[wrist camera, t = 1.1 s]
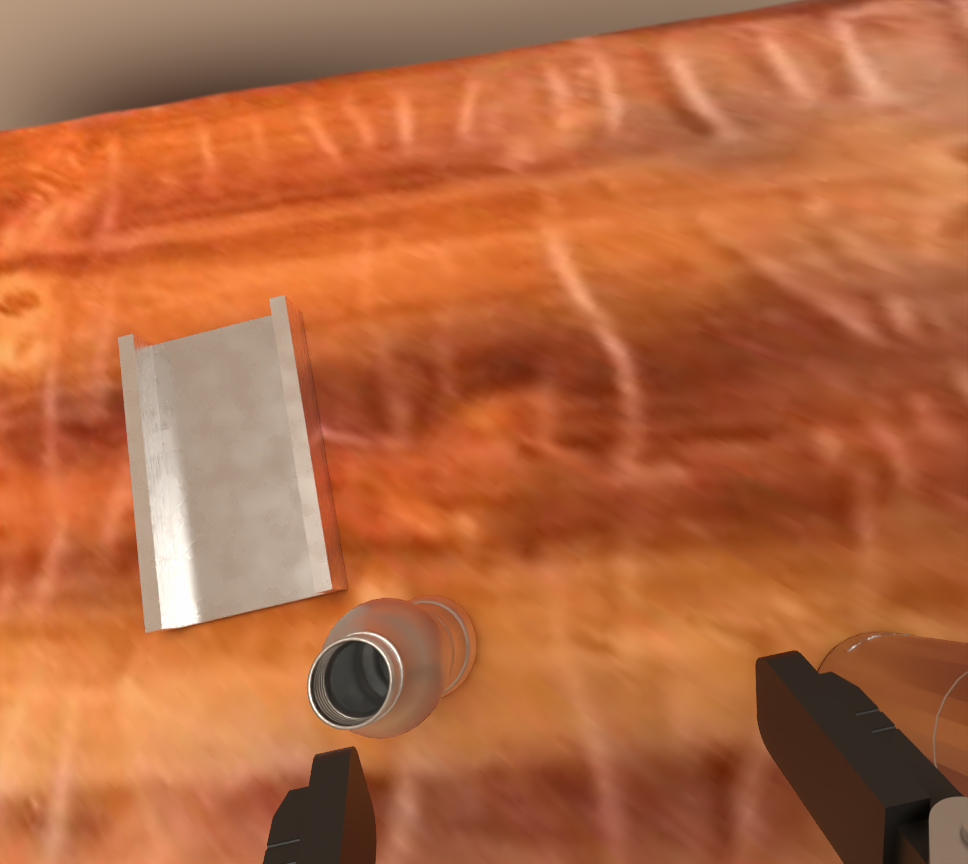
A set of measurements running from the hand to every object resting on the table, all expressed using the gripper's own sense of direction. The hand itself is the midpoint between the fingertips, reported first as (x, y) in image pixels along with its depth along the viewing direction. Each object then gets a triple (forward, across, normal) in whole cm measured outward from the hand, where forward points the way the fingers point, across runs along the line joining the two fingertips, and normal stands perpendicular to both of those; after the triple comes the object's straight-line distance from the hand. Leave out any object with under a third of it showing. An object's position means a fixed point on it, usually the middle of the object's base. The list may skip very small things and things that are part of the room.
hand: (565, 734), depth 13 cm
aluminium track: (+39, -17, -6) cm, 43 cm away
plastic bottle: (+30, -5, -18) cm, 35 cm away
